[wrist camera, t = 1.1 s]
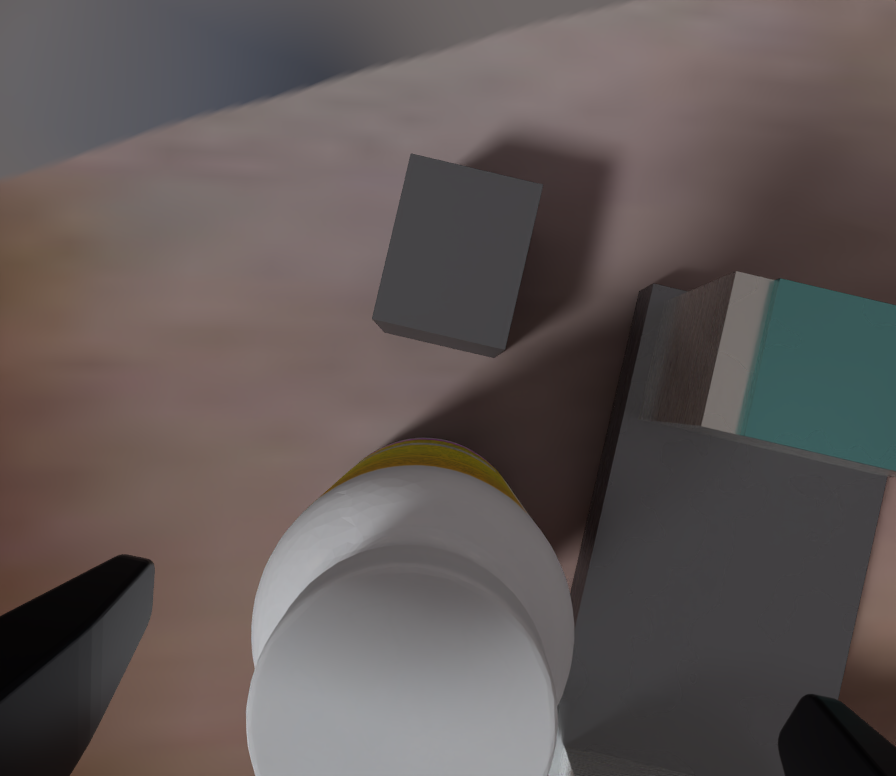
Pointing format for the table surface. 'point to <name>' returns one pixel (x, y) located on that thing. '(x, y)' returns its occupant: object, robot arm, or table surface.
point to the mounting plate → (727, 526)
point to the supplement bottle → (410, 627)
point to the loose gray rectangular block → (456, 256)
